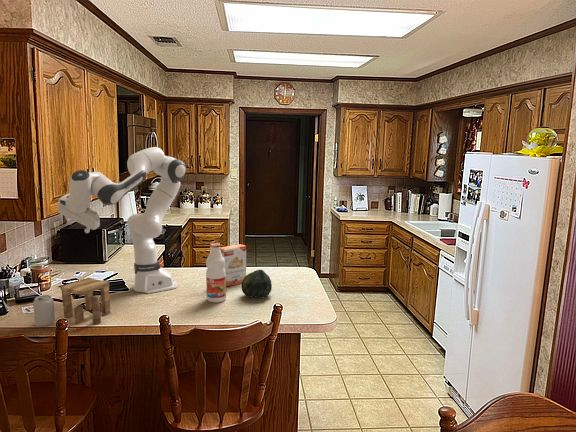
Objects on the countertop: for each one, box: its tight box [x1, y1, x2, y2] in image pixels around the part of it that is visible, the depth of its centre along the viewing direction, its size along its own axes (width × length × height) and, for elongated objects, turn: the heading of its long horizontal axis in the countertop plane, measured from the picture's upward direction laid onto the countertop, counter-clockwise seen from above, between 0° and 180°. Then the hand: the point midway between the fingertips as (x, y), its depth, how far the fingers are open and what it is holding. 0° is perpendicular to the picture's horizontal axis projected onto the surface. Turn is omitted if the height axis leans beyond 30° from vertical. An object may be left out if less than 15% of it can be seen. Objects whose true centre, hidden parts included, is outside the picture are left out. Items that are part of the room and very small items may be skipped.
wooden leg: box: [91, 294, 104, 325], centre depth 190 cm, size 10×3×12 cm, turn 13°
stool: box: [60, 277, 112, 325], centre depth 194 cm, size 14×16×14 cm
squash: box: [241, 269, 273, 299], centre depth 219 cm, size 14×15×15 cm
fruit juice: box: [205, 242, 227, 304], centre depth 214 cm, size 9×9×28 cm
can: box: [32, 294, 56, 328], centre depth 186 cm, size 8×8×12 cm
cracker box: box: [220, 243, 247, 288], centre depth 238 cm, size 14×6×21 cm, turn 129°
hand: (78, 227), depth 204 cm, fingers open, 8 cm apart
